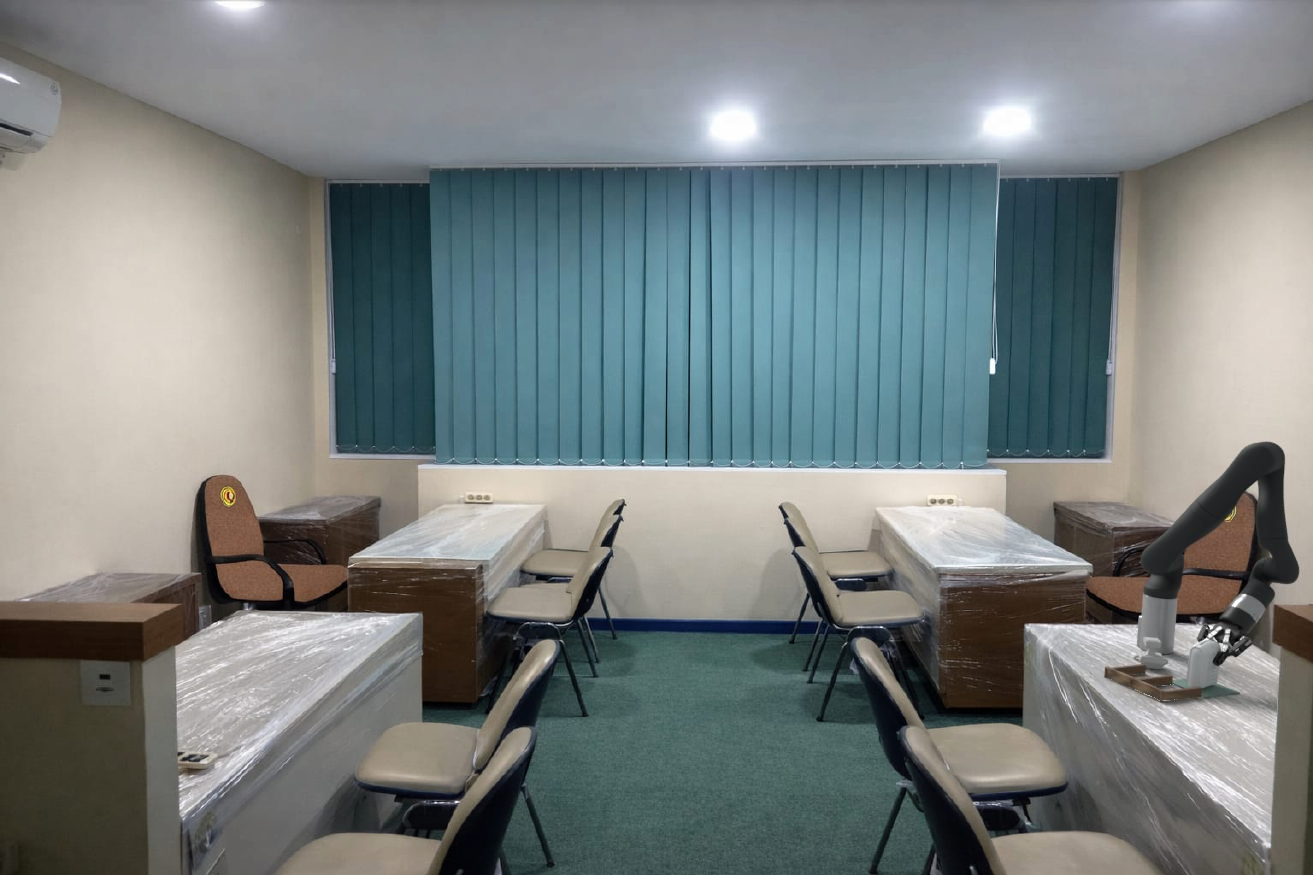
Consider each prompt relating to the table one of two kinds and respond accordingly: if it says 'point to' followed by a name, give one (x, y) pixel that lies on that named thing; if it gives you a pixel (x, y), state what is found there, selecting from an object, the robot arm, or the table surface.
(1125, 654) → the table surface
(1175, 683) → the mat
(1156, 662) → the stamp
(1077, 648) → the table surface
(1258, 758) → the table surface
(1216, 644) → the photo printer
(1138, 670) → the lane rack
